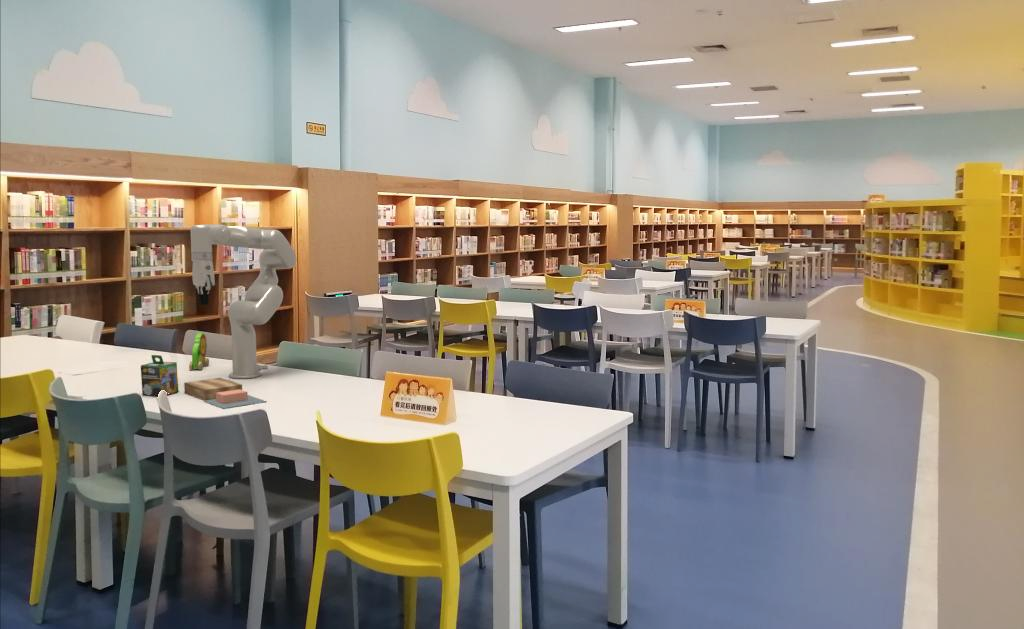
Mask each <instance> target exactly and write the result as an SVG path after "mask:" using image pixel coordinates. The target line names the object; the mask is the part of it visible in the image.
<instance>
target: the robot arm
mask: <svg viewBox="0 0 1024 629" xmlns="http://www.w3.org/2000/svg"><path fill="white" fill-rule="evenodd" d="M213 245H215V246H216V245H217V246H218V245H219V246H225V247H226V246H227V247H234V248H245V249H247V248H248V249H255V250H257V249H258V250H262V251H261V253H260V254H259V258H258V262H259V275H258V276H257V278H256V279H255V280H254V281H253V283H252V284H251V285H250V286H249V288H248V289H247V290H246V292H245V295H244V298H245V300H237V301H234V302H232V303H231V304H230V305H229V306H228V311H227V314H228V320H229V322H230V330H231V356H232V357H231V360H232V372H230V373H229V374H228V377H229V378H231V379H237V380H238V379H241V380H242V379H253V378H258V377H260V376H261V375H262V374H261V373H262V372H261V371H265V370H268V368H269V366H268V365H267V364H263V365H262V364H258V363H257V336H256V330H255V328H254V325H255V326H260V325H264V324H266V323H268V322H269V320H270V319H271V318H272V317H273V316H274V314H275V313H276V311H277V310H278V309H279V307H280V306H281V305H282V302H283V301H284V300H283V299H284V292H283V290H282V288H281V287H280V286H279V284H278V283H279V278H278V275H277V271H276V270H277V269H281V270H291V269H292V268H294V267H295V265H296V263H297V255H296V252H295V250H294V249H293V247H292V246H291V244H290V242H289V241H288V239H287V238H286V237H285V235H284V234H283V233H282V232H281V231H280V230H278V229H272V228H271V229H269V228H267V229H265V228H255V227H247V226H240V225H239V226H237V225H234V226H233V225H232V226H227V225H225V224H217V223H215V224H213V223H209V224H205V223H203V224H193V225H191V227H190V248H191V249H190V252H191V253H190V254H191V261H192V275H191V276H192V278H191V279H192V284H193V285H194V286H195V289H197V294H198V305H201V306H202V305H209V293H210V290H211V288H212V287H214V286H216V282H215V270H214V269H215V268H214V262H213Z"/></svg>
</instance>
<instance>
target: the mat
mask: <svg viewBox="0 0 1024 629" xmlns="http://www.w3.org/2000/svg"><path fill="white" fill-rule="evenodd" d="M202 401H203V403H206V404H209V405H212V406H213V407H214V406H215V407H216V408H217V407H218V408H219V409H223V410H225V409H226V410H227V409H233V408H238V407H245V406H250V404H252V405H256V404H255V403H258V404H260V403H259V402H263V401H264V399H261V398H258V397H255V396H252V395H249V394H248V400H245V401H238V402H232V403H225V404H223V403H220V402H217V401H216V399H211V400H202Z"/></svg>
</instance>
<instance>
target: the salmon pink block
mask: <svg viewBox="0 0 1024 629" xmlns="http://www.w3.org/2000/svg"><path fill="white" fill-rule="evenodd" d="M248 395H249V394H248V391H246V390H243V389H242V390H241V389H239V390H232V391H225V392H218V393H216V401H217V402H220V403H223V404H225V403H232V402H238V401H245V400H248Z"/></svg>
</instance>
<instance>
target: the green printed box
mask: <svg viewBox="0 0 1024 629" xmlns="http://www.w3.org/2000/svg"><path fill="white" fill-rule="evenodd" d="M150 357H151V360H152V362H149V363H145V364H141V365H140V377H141V378H140V379H141V390H142V391H141V393H142V394H148V395H147V396H149V395H155V396H154V397H158V394H159V392H160V391H161V390H165V391H166V392H167V394H168V393H169V395H171V394H175V393H178V392H179V378H178V365H177V364H178V363H177V362H176V361H164V360H163V355H158V354H151V355H150ZM156 359H159V361H158V360H156Z"/></svg>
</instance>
